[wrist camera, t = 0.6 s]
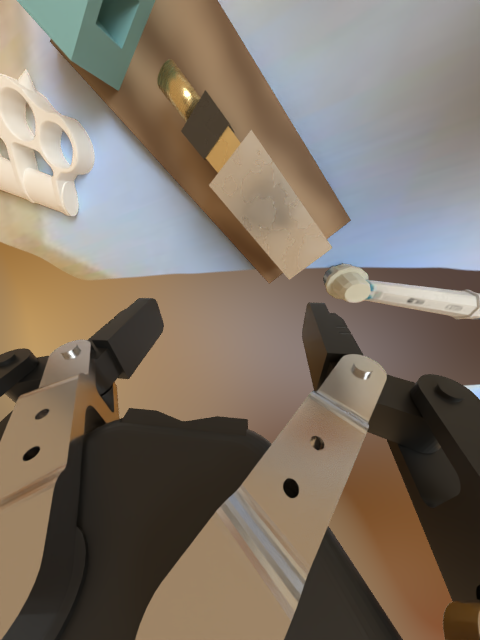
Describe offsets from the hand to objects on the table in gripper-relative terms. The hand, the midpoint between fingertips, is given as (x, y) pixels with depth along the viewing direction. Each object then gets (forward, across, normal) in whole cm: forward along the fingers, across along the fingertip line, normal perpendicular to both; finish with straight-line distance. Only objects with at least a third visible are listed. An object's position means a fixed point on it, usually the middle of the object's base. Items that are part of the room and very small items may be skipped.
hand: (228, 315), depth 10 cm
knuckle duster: (+24, +31, -12) cm, 41 cm away
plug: (+21, +1, -6) cm, 22 cm away
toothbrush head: (+24, -24, +9) cm, 35 cm away
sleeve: (+22, -3, -3) cm, 23 cm away
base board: (+24, +4, -10) cm, 26 cm away
